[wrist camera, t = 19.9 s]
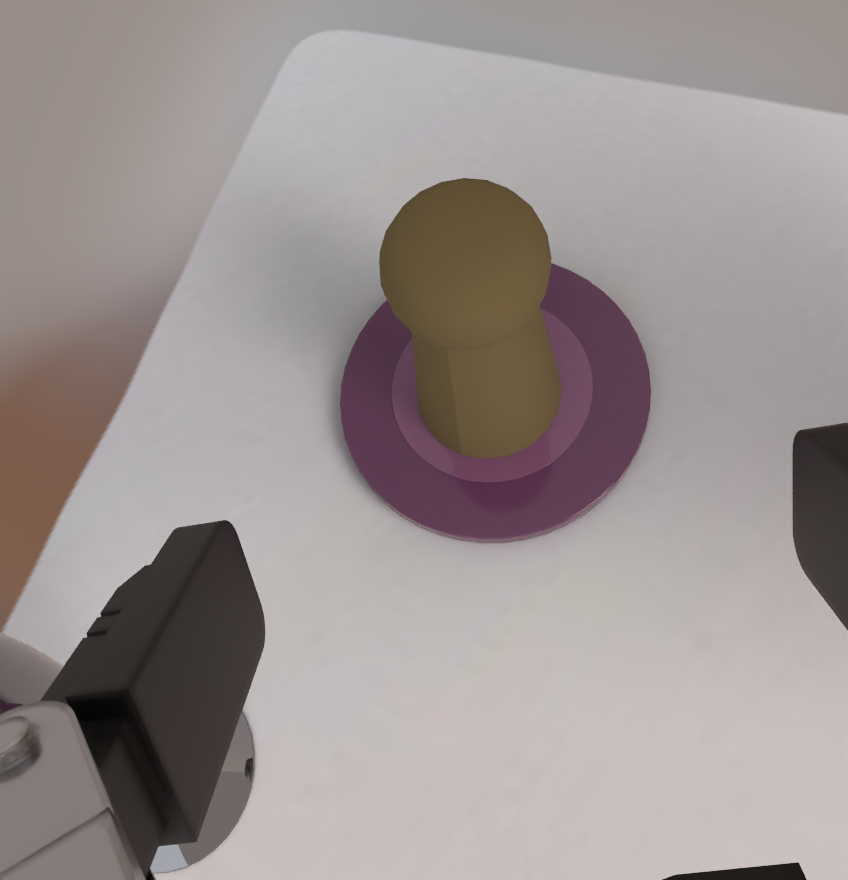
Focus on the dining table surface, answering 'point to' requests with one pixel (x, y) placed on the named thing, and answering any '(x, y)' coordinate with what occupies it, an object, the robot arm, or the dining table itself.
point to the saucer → (522, 473)
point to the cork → (474, 314)
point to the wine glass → (31, 674)
